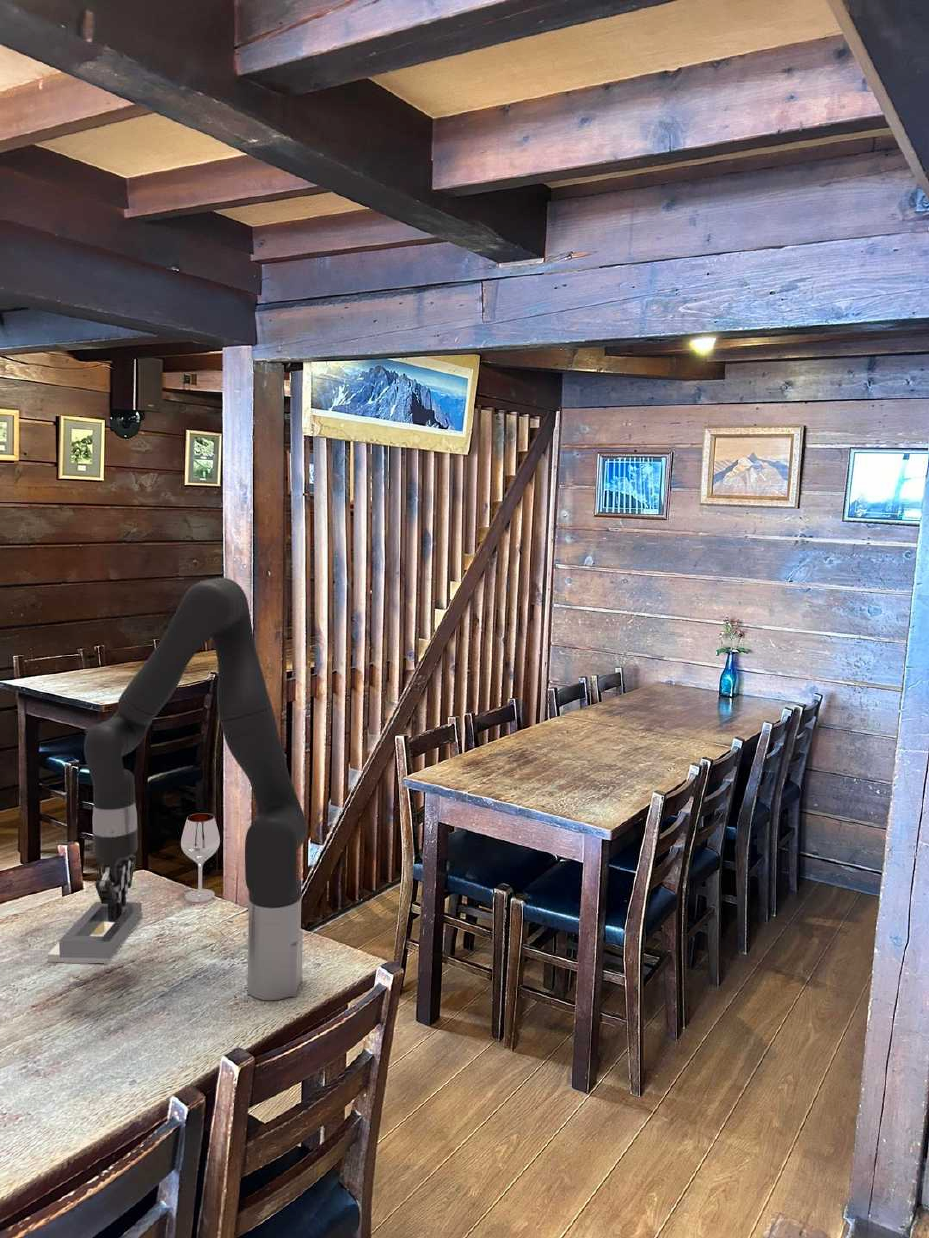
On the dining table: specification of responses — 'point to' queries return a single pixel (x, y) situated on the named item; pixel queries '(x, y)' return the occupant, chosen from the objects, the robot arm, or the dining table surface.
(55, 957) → the board
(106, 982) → the dining table surface
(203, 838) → the wineglass
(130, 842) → the robot arm
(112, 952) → the grey rectangular frame
